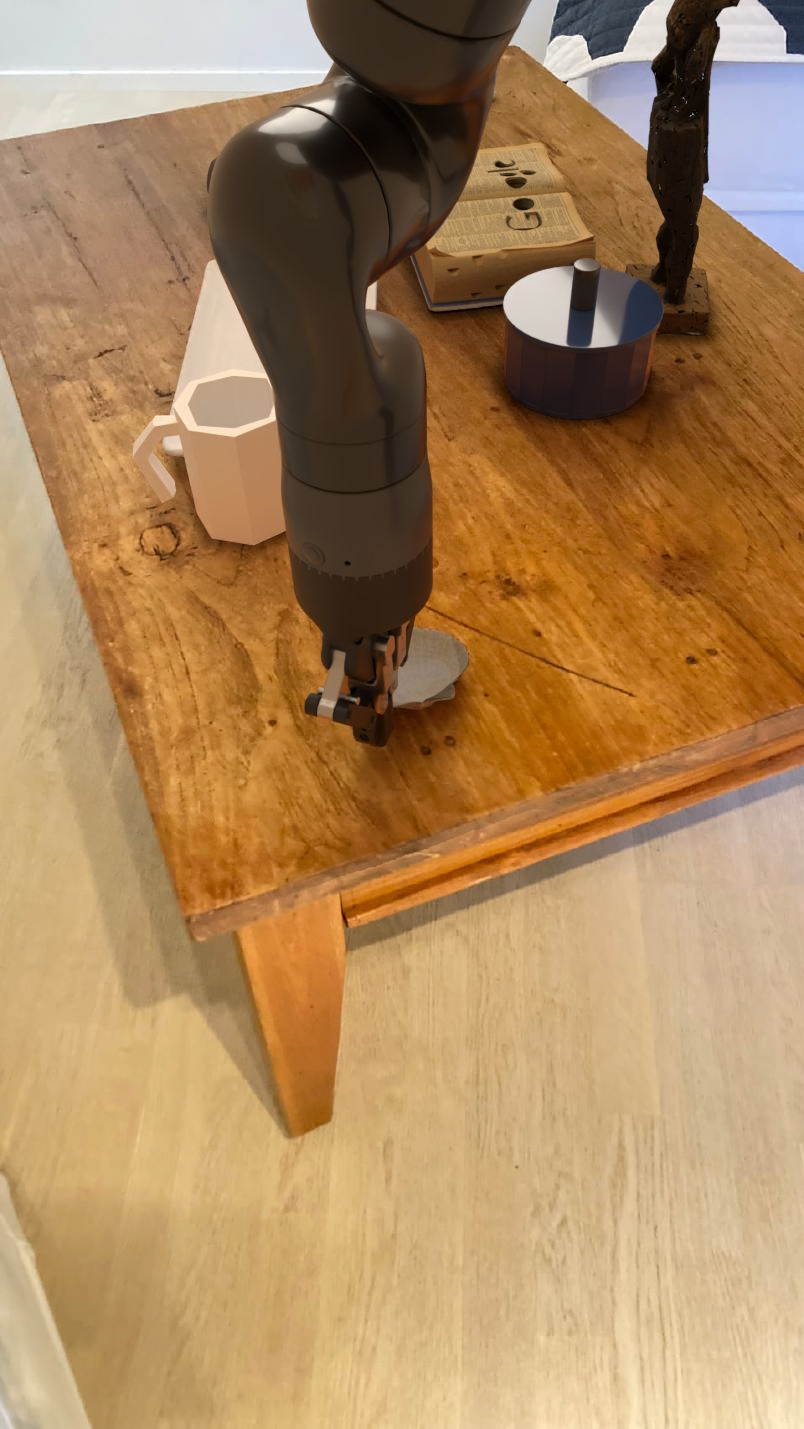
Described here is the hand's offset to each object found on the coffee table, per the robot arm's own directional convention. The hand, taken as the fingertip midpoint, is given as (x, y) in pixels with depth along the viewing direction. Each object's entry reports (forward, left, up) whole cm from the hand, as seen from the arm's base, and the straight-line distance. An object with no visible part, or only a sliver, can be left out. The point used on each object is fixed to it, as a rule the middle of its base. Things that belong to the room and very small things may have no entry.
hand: (374, 735), depth 67 cm
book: (+14, -66, -1) cm, 67 cm away
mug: (+20, -18, -1) cm, 27 cm away
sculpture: (-6, -59, -1) cm, 59 cm away
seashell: (0, -6, -1) cm, 6 cm away
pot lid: (-1, -45, +5) cm, 45 cm away
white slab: (+24, -37, -1) cm, 44 cm away
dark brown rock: (+43, -66, -1) cm, 79 cm away
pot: (-1, -45, -1) cm, 45 cm away
